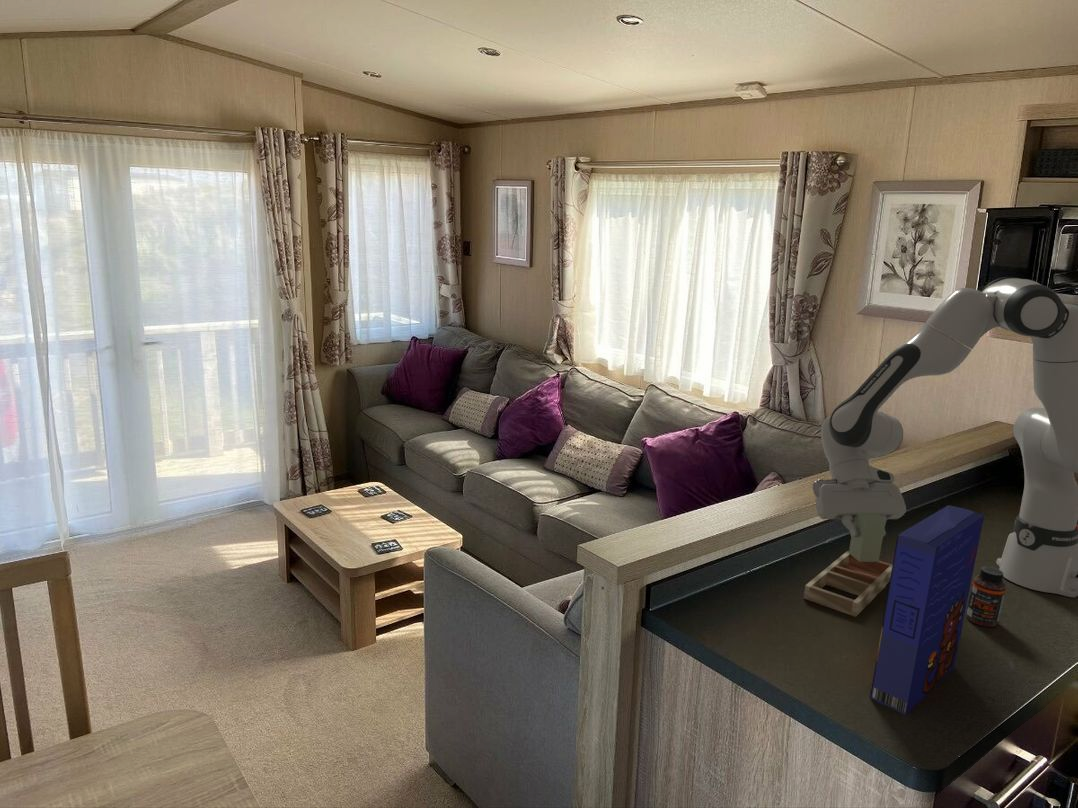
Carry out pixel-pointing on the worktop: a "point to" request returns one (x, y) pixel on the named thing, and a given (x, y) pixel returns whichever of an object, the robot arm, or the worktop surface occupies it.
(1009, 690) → the worktop surface
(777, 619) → the worktop surface
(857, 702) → the worktop surface
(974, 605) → the supplement bottle
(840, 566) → the two-socket holder
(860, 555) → the sage peg
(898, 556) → the cereal box
